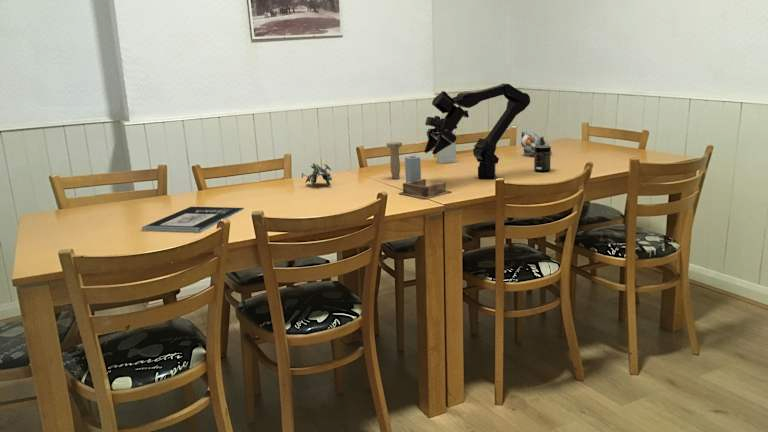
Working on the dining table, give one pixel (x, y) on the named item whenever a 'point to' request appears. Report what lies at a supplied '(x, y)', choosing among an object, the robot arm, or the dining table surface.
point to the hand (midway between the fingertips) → (429, 153)
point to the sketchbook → (192, 219)
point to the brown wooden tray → (423, 189)
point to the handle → (395, 159)
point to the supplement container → (542, 158)
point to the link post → (412, 168)
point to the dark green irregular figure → (319, 171)
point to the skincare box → (447, 154)
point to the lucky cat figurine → (531, 142)
